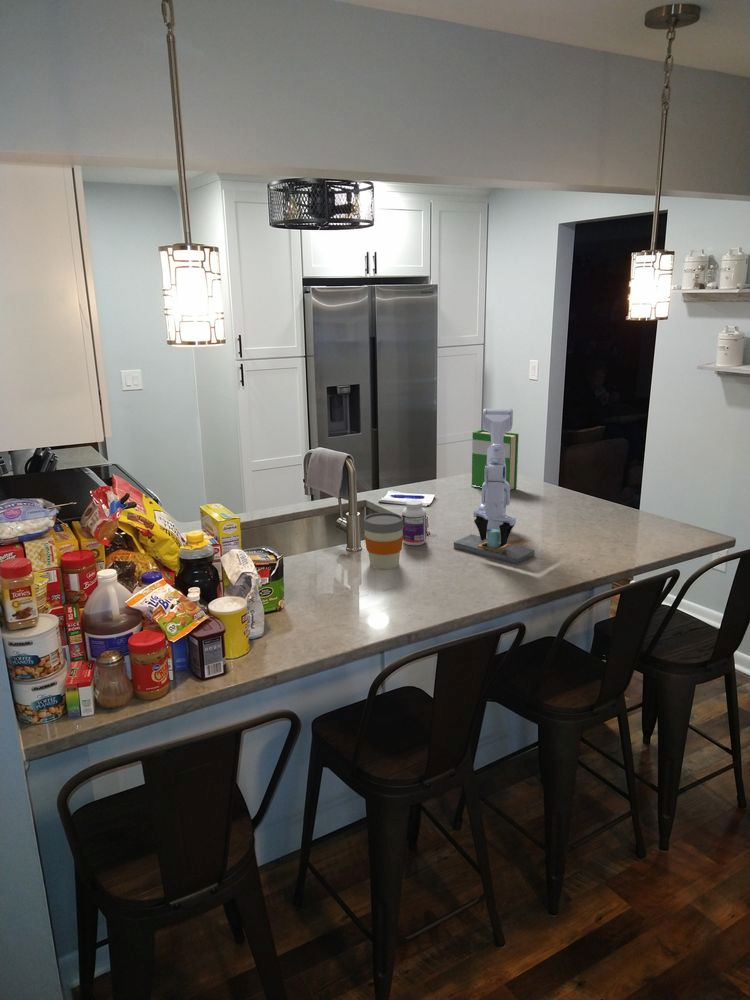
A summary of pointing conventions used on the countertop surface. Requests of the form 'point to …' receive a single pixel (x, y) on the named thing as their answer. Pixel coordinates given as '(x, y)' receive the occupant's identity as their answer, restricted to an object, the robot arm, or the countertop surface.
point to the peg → (493, 538)
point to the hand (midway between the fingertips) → (493, 542)
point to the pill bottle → (414, 523)
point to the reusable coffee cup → (383, 539)
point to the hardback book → (479, 457)
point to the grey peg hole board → (494, 550)
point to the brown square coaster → (517, 541)
